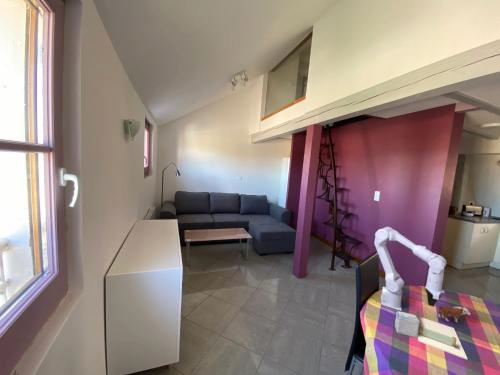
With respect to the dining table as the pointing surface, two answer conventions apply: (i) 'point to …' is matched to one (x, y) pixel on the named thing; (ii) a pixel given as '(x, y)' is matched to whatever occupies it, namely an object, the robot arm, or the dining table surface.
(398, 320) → the medicine box
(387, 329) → the dining table surface
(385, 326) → the dining table surface
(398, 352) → the dining table surface
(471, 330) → the dining table surface
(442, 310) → the bull figurine
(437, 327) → the board
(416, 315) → the fixed fence section
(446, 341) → the hinged fence panel
